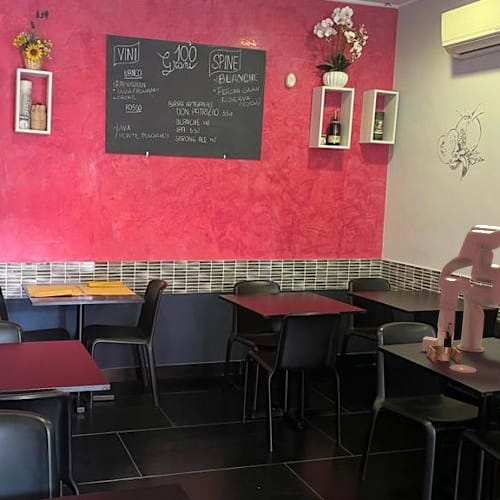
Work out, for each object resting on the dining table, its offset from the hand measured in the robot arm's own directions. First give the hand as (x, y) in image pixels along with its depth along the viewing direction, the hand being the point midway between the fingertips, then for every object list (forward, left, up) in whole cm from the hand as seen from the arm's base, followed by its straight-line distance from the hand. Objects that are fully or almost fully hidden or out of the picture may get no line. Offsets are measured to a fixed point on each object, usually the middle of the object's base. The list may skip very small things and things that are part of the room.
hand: (444, 344), depth 306 cm
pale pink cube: (-16, -2, -7) cm, 18 cm away
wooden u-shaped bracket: (0, 0, -7) cm, 7 cm away
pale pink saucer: (+15, +4, -7) cm, 17 cm away
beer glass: (0, 0, -7) cm, 7 cm away
